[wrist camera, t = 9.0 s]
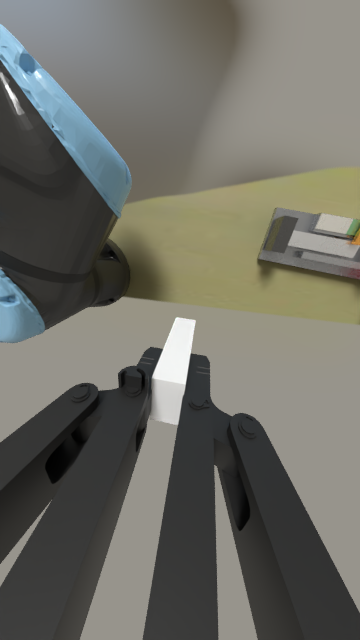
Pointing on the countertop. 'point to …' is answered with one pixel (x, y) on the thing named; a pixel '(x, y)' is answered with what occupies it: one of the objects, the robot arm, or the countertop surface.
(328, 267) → the gauge body
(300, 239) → the plunger
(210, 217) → the countertop surface
